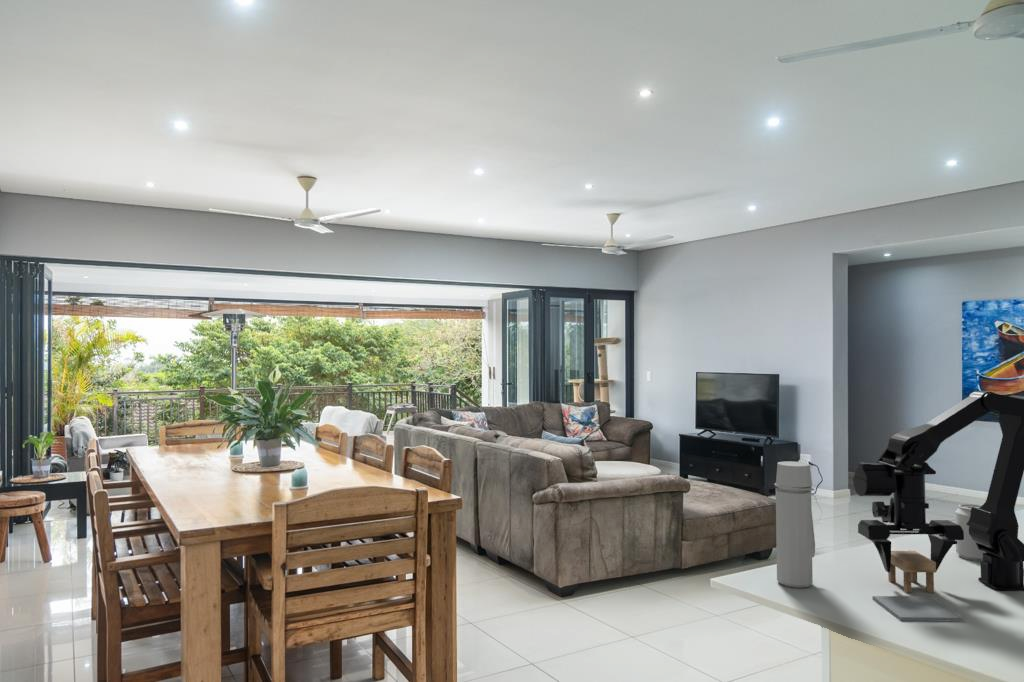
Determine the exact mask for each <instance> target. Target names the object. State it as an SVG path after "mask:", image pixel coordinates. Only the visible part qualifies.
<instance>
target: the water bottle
mask: <svg viewBox="0 0 1024 682" xmlns="http://www.w3.org/2000/svg"><path fill="white" fill-rule="evenodd" d="M776 466H777V467H776V477H775V478H776V479H775V483H774V484H773V485H774V486H775V525H776V526H775V535H776V537H775V539H776V541H775V543H776V544H775V545H776V580H777V582H778V583H779V584H781V585H783V586H784V587H785V586H786V587H790V588H794V587H795V589H805V588H808V587H810V586H812V584H813V582H814V581H813V580H814V579H813V558H815V554H816V541H815V528H814V521H813V511H812V491H815V490H816V488H814V487H813V480H812V479H813V478H812V473H811V464H810V463H808V462H804V461H792V460H790V461H786V460H785V461H778V462H777V465H776Z"/></svg>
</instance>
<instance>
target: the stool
mask: <svg viewBox="0 0 1024 682" xmlns="http://www.w3.org/2000/svg"><path fill="white" fill-rule="evenodd" d="M896 567H897V569H899V570H901V571H902V573H903V592H904V591H905V592H904V593H906V592H910V593H909V594H912V583H916V582H917V583H918V573H925V592H926V593H928V592H929V593H928V594H935V582H934V581H935V575H934V572H935V573H937V571H936V562H934V561H932V560H931V558H929V557H927V556H925V555H923V554H921V553H920V552H918V551H916V550H891V568H890V572H887V573H888V582H890V583H896V581H897V579H896V577H897V576H896V575H897V573H896V572H897V571H896ZM911 581H912V582H911Z"/></svg>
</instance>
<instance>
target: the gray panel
mask: <svg viewBox="0 0 1024 682" xmlns="http://www.w3.org/2000/svg"><path fill="white" fill-rule="evenodd" d="M872 600H873V601H874V602H876V603H877V604H879V606H881V607H882V608H883V609H884V610H886V611H887V612H888V613H890V614H891V615H892V616H894V617H895V618H896V619H897V620H899V621H900V622H901V621H903V622H904V621H905V622H906V621H907V622H909V621H910V622H914V621H915V622H916V621H917V622H938V621H937V620H949V621H948V622H964V617H962V616H961V615H960V614H958V613H956V612H955V611H954V610H952V609H951V608H949V607H947V606H945V604H942V603H941V602H940V601H938V600H936V599H935V598H933V597H931V596H930V595H929V596H925V595H923V596H919V595H917V596H915V595H914V596H913V595H911V596H910V595H909V596H905V595H903V596H902V595H897V596H896V595H895V596H894V595H872ZM931 620H932V621H931ZM935 620H936V621H935Z"/></svg>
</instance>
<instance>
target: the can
mask: <svg viewBox="0 0 1024 682" xmlns="http://www.w3.org/2000/svg"><path fill="white" fill-rule="evenodd" d="M982 505H983V504H975V503H961V504H958V505H957V506H958V508H957V509H956V510H955V511H954V515H955V516H954V518H955V519H954V520H955V521H954V523H956V524H958V525H960V526H961V527H962V529H963V531H964V540H955V541H957V544H955V552H956V554H958V555H959V557H960V558H962V559H964V560H965V559H966V560H969V561H973V562H974V561H975V562H981V561H983V553H986V552H984V551H982V550H979V549H978V547H977V545H976V542H975V541H974V540H973V539H972V537H971V536H970V535H969V526H968V525H966V524H967V522H968V521H969V519H970V514H971V509H972V507H976V508H980V507H981V506H982Z"/></svg>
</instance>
